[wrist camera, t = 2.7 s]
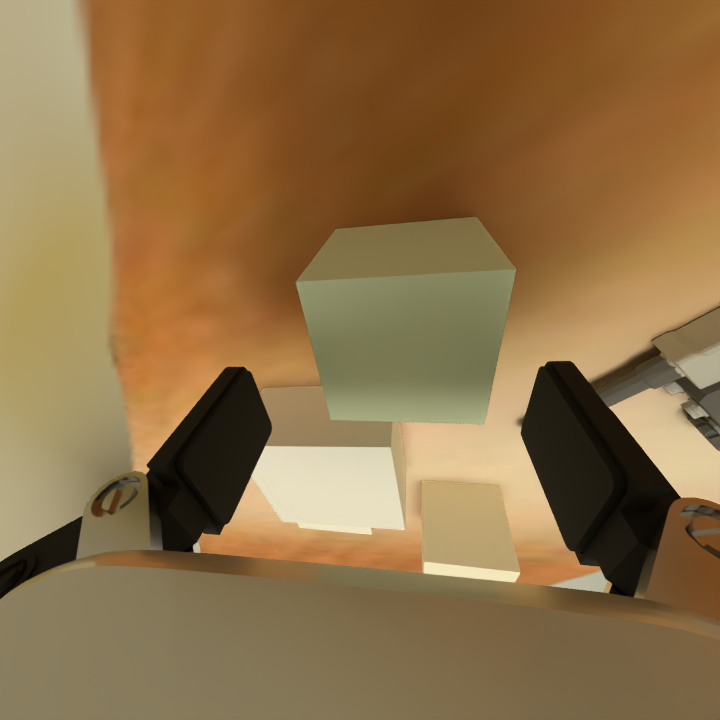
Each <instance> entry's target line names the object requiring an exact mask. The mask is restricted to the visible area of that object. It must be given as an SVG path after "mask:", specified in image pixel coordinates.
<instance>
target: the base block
mask: <svg viewBox="0 0 720 720" xmlns="http://www.w3.org/2000/svg"><path fill="white" fill-rule="evenodd" d="M260 396H261V398H262V401H263V403H264V406H265V408H266V411H267V413H268V416H269V418H270V421H271V423H272V432H271V435H270V437H269V439H268V441H267V443H266V445H265V448H264V450H263V452H262V454H261V456H260V458H259V460H258V463H257V465H256V467H255V469H254V471H253V473H252V475H251V476H252V478H253V479H254V481H255V482H256V484H257V485H258V487H259V488H260V490H261V491H262V493H263V494H264V495H265V497H266V498H267V500H268V501H269V503H270V504H271V506H272V507H273V509H274V510H275V512H276V513H277V514H278V516H279V517H280V519H281V520H282V522H297V523H312V524H326V525H341V526H356V527H371V528H385V529H400V530H405V505H406V462H405V455H404V448H403V440H402V433H401V425H400V422H383V421H349V420H331V419H330V415H329V411H328V407H327V403H326V399H325V395H324V391H323V388H322V386H302V387H274V388H263V390H262V392H261V393H260Z"/></svg>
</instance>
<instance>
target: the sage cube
mask: <svg viewBox="0 0 720 720" xmlns="http://www.w3.org/2000/svg"><path fill="white" fill-rule="evenodd" d="M515 274H516V268H515V267H514V265H513V264H512V263H511V261H510V260H509V259H508V257H507V256H506V255H505V253H504V252H503V251H502V249H501V248H500V247H499V245H498V244H497V243H496V242H495V240H494V239H493V238H492V236H491V235H490V234H489V232H488V231H487V230H486V228H485V227H484V226H483V224H482V223H481V222H480V220H479V219H478V218H477V217H466V218H455V219H443V220H432V221H421V222H409V223H398V224H386V225H375V226H364V227H352V228H341V229H335V231H334V232H333V233H332V235H331V236H330V237H329V239H328V240H327V241H326V243H325V244H324V245H323V246H322V248H321V249H320V250H319V252H318V253H317V254H316V256H315V257H314V258H313V260H312V261H311V262H310V264H309V265H308V266H307V268H306V269H305V270H304V271H303V273H302V274H301V275H300V277H299V278H298V279H297V281H296V286H297V290H298V294H299V297H300V301H301V305H302V309H303V313H304V317H305V321H306V325H307V329H308V333H309V337H310V341H311V344H312V348H313V352H314V356H315V360H316V364H317V368H318V372H319V376H320V380H321V384H322V388H323V391H324V395H325V399H326V403H327V407H328V411H329V415H330V419H331V420H349V421H383V422H418V423H453V424H485V419H486V414H487V409H488V404H489V400H490V395H491V390H492V385H493V380H494V375H495V371H496V366H497V361H498V356H499V351H500V346H501V341H502V337H503V332H504V327H505V322H506V317H507V312H508V308H509V303H510V298H511V293H512V288H513V283H514V279H515Z"/></svg>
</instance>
